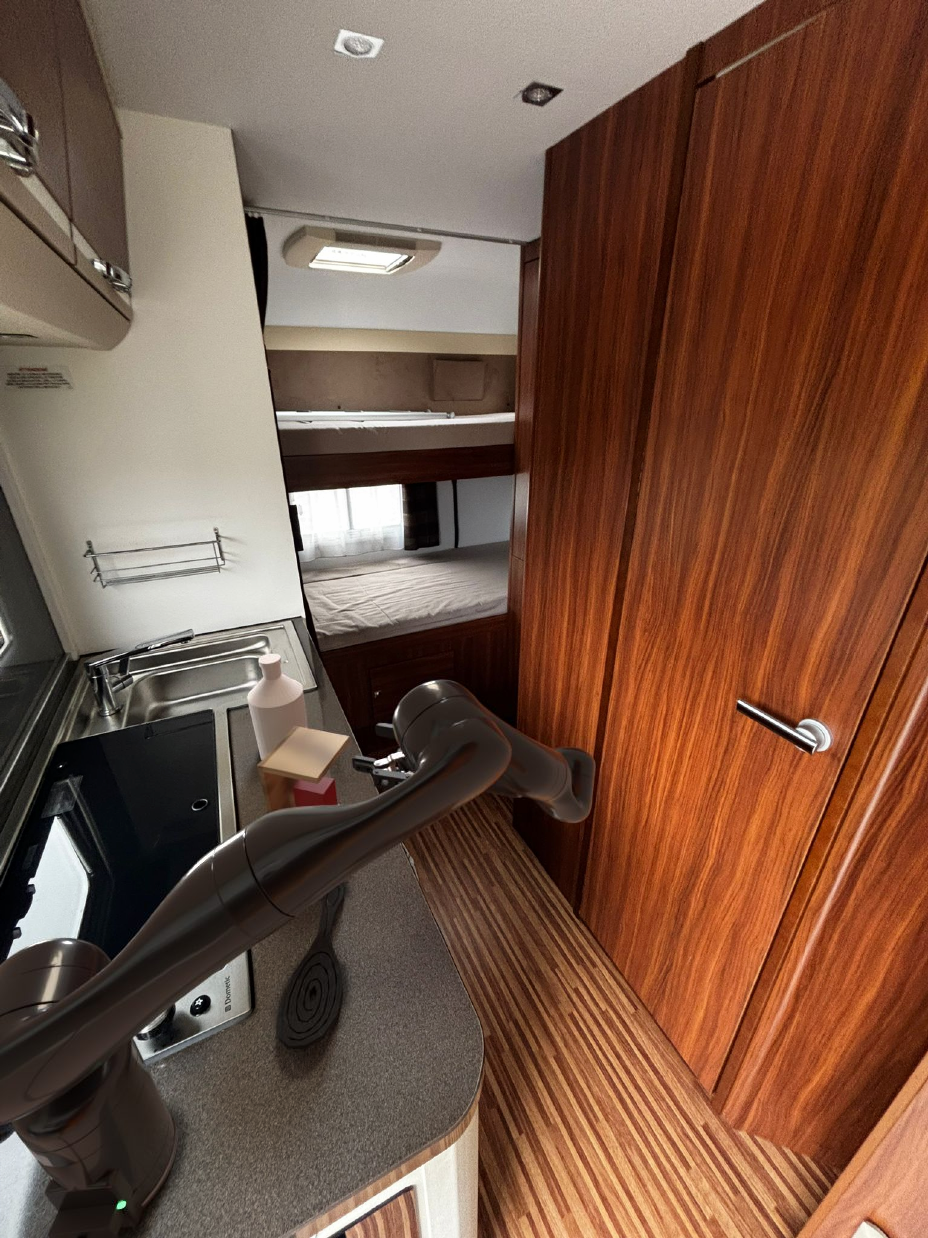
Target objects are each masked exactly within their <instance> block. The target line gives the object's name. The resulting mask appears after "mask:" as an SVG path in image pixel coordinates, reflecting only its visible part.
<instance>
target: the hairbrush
mask: <svg viewBox="0 0 928 1238" xmlns="http://www.w3.org/2000/svg"><path fill="white" fill-rule="evenodd" d="M344 896H345V886H344V884H343V882H342V883H341V884H339V885H338V886H336V887H335V888H334V889H332V890H331V891H330V892H328V893H327V894H326V895H324V896H323V897H322V898H321V899H322V901H321V914H320V919H319V925H318V930H317V934H316V937H314V940H313V942H312V944H311V946H310V947H309V949H308V951H307V952H306V954H305V955H304V956H303V958H302V959H301V961H300V963H299V964H298V965H297V967H296V968H295V970H294V971H293V973H292V974H291V976H290V979H289V981H288V983H287V986H286V988H285V990H284V992H283V994H282V998H281V1000H280V1004H279V1007H278V1012H277V1016H276V1036H277V1038H278V1042H280V1044H281V1045H282V1046H284V1047H285V1048H286V1049H288V1050H297V1051H303V1050H304V1051H305V1050H307V1049H308V1048H310V1047H312V1046H314V1045H315V1044H317V1043H319V1042H320V1041H322V1040H324V1039H325V1038H326V1037H327V1035H328V1033H329V1032H330V1030H331V1029H332V1028H333V1026H334V1024H335V1023H336V1021H337V1020H338V1019H339V1014H340V1009H341V1006H342V999H343V998H342V997H343V993H344V982H343V981H344V980H343V975H342V974H343V973H342V969H341V964H340V962H339V958H338V957H337V956H338V955H337V954H336V950H335V949H334V947H333V942H332V937H331V935H332V932H333V928H334V924H335V920H336V916H337V914H338V912H339V910H340V907H342V904H343V902H344ZM314 991H316V995H315V997H314V999H313V1001H312V1002H311V996H312V994H313V992H314Z"/></svg>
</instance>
